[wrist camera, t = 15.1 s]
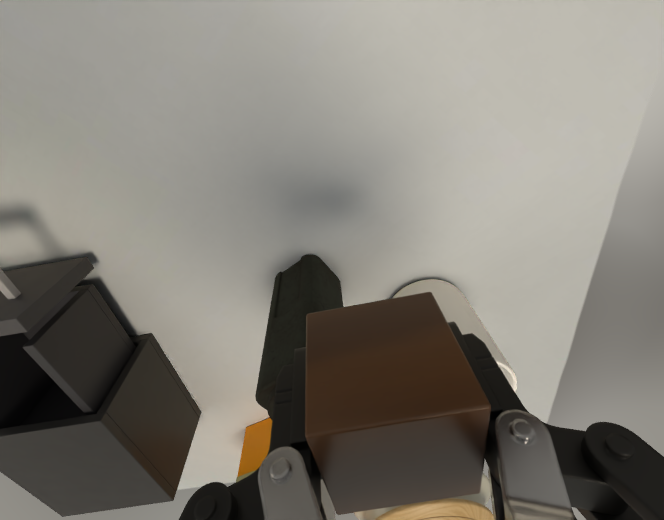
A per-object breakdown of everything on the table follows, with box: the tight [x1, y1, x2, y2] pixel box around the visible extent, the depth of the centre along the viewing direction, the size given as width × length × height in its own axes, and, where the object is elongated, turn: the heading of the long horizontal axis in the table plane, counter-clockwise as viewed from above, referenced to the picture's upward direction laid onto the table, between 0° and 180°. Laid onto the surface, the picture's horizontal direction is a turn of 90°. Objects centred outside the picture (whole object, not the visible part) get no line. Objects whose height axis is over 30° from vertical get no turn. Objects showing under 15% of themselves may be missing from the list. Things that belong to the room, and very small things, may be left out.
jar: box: [354, 473, 494, 520], centre depth 33 cm, size 13×13×18 cm
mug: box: [393, 279, 517, 392], centre depth 30 cm, size 12×8×10 cm
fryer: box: [0, 334, 201, 517], centre depth 33 cm, size 14×12×10 cm
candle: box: [256, 255, 343, 520], centre depth 21 cm, size 5×5×25 cm
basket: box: [0, 257, 136, 429], centre depth 26 cm, size 17×10×8 cm, turn 10°
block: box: [305, 292, 491, 515], centre depth 11 cm, size 4×4×4 cm
